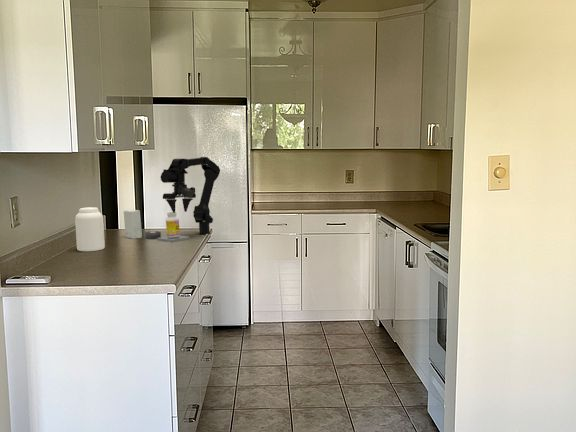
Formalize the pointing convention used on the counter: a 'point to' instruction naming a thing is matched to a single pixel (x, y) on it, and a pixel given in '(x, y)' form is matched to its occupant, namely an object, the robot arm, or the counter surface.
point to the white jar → (89, 230)
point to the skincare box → (132, 224)
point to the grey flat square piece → (173, 238)
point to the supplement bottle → (172, 225)
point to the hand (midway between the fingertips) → (179, 212)
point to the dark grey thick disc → (152, 235)
